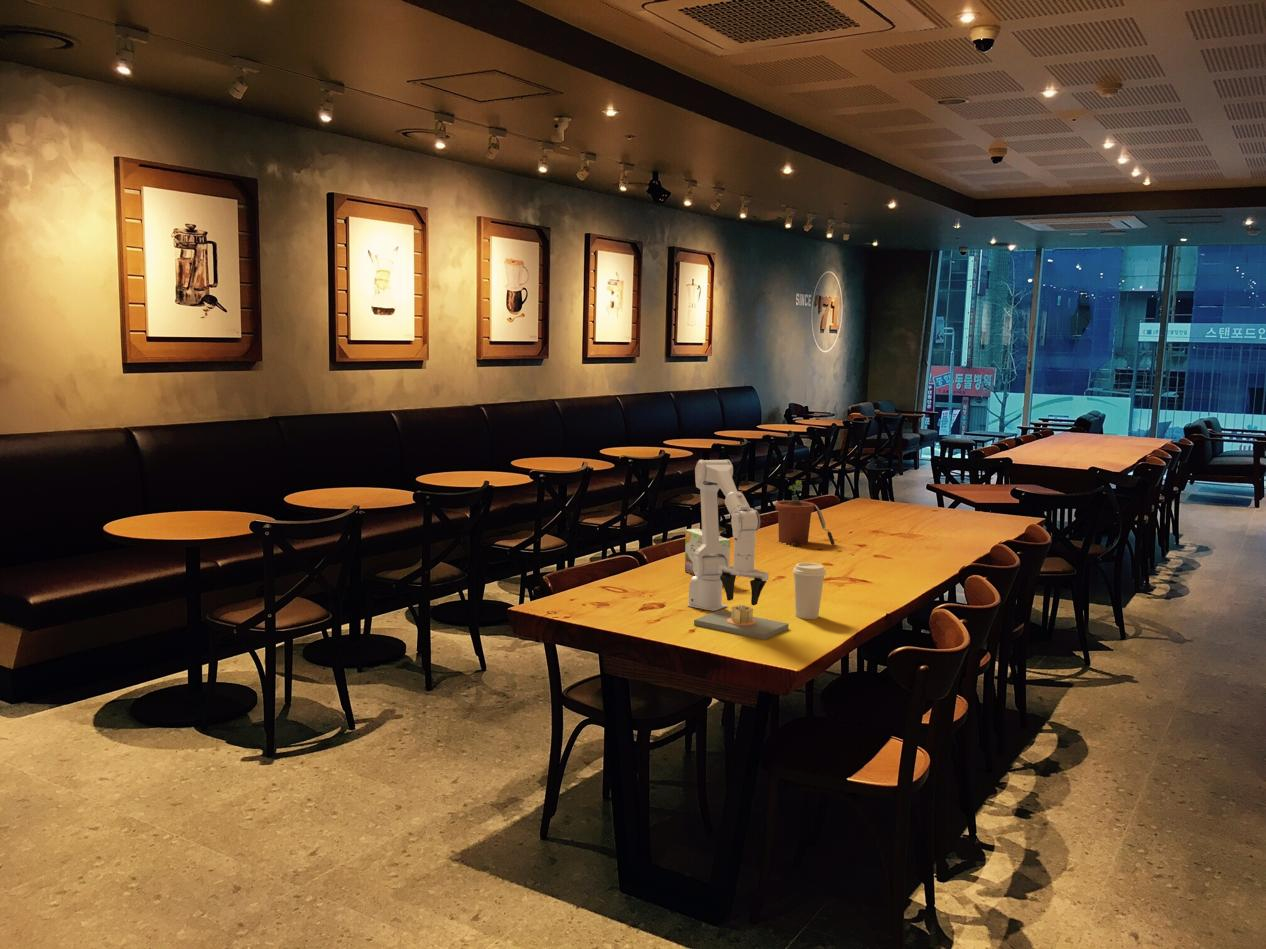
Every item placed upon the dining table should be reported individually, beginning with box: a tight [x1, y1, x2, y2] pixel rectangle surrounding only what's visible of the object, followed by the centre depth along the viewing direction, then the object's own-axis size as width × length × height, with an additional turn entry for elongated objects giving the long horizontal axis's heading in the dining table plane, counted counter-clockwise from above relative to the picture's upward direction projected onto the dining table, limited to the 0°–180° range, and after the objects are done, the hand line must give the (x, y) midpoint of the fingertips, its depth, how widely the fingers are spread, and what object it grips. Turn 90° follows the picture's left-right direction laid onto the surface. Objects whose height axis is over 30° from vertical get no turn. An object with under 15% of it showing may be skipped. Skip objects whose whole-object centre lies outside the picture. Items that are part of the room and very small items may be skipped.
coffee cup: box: [792, 562, 827, 620], centre depth 292 cm, size 10×10×15 cm
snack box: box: [684, 528, 731, 585], centre depth 338 cm, size 21×6×15 cm, turn 27°
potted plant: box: [774, 480, 836, 547], centre depth 404 cm, size 18×22×25 cm
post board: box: [693, 604, 789, 641], centre depth 279 cm, size 22×14×6 cm, turn 55°
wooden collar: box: [730, 605, 754, 624], centre depth 279 cm, size 6×6×4 cm
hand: (742, 602), depth 278 cm, fingers open, 7 cm apart
